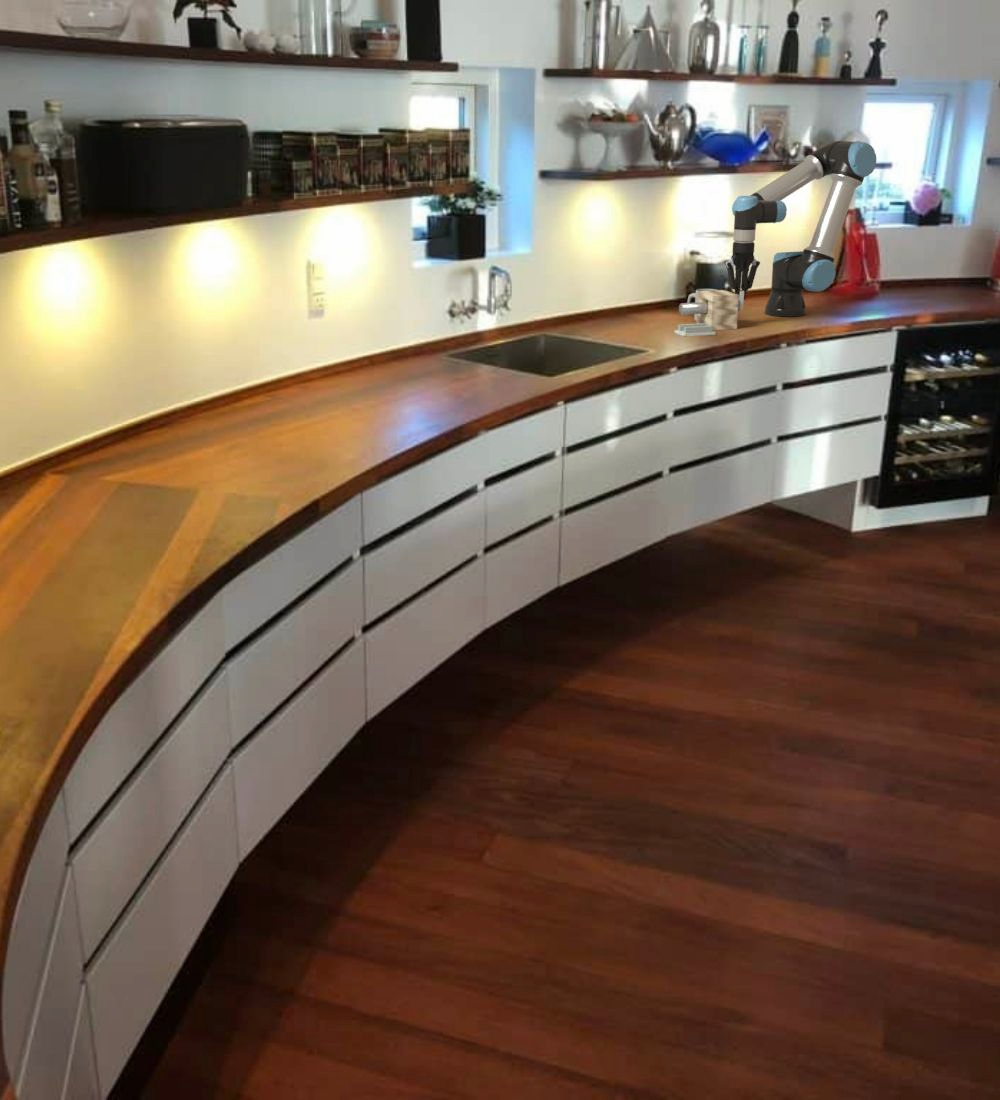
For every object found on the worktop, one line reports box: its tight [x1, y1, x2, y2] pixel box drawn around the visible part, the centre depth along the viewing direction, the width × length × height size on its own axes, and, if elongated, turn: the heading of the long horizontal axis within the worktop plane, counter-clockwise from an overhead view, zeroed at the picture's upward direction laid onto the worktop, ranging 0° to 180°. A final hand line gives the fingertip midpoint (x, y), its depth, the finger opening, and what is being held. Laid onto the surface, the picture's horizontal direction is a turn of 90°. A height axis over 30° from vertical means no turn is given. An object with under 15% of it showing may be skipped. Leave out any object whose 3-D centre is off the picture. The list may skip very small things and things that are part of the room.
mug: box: [686, 288, 717, 322], centre depth 448 cm, size 12×8×11 cm
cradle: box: [673, 322, 717, 337], centre depth 423 cm, size 12×8×3 cm, turn 106°
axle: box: [678, 301, 741, 316], centre depth 432 cm, size 22×4×4 cm, turn 106°
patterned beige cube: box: [696, 289, 739, 331], centre depth 434 cm, size 10×12×12 cm
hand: (739, 308), depth 436 cm, fingers closed
